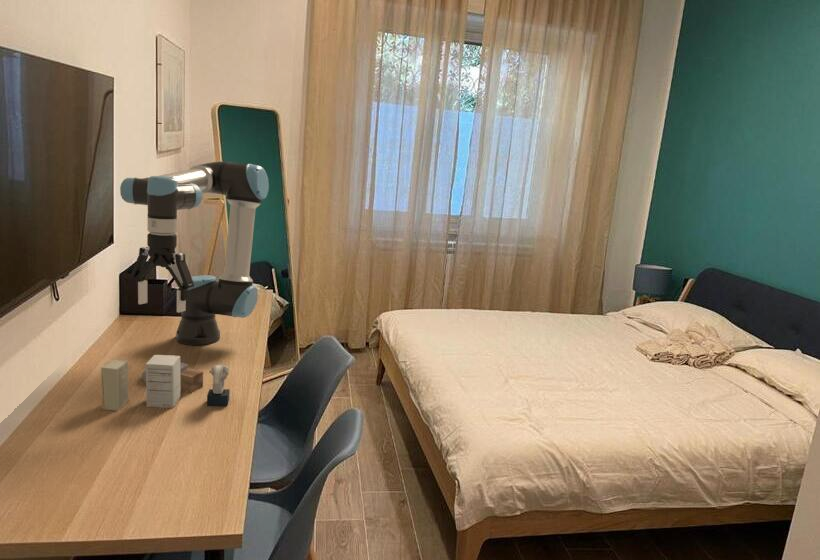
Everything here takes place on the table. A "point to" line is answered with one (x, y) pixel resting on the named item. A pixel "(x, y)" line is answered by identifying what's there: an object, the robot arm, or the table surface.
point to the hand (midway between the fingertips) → (161, 307)
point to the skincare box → (114, 384)
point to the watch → (218, 387)
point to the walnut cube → (191, 380)
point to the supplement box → (163, 381)
